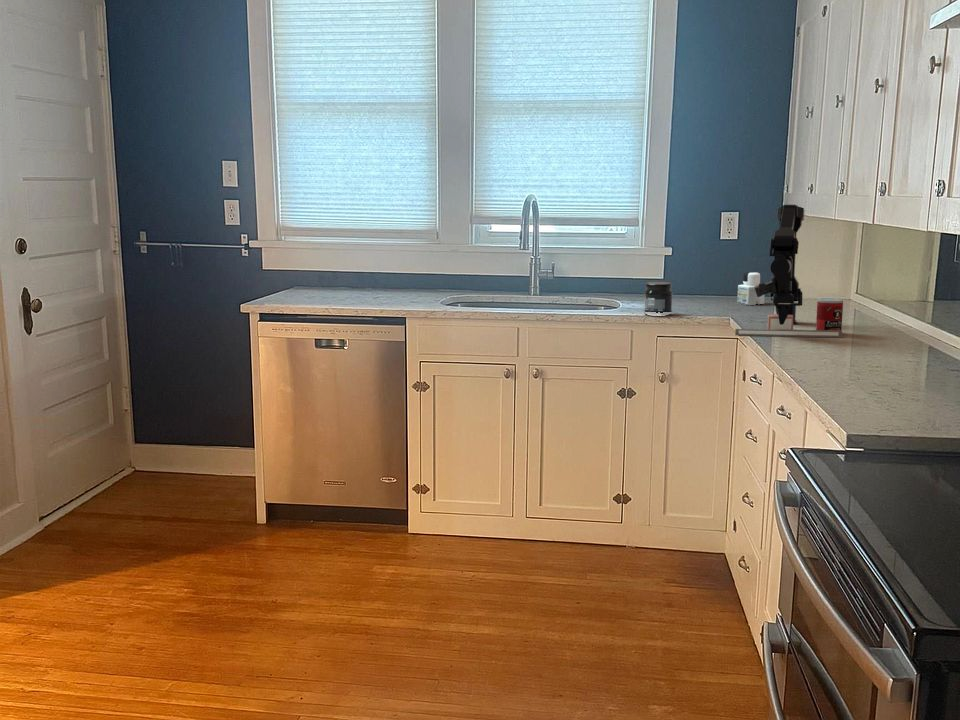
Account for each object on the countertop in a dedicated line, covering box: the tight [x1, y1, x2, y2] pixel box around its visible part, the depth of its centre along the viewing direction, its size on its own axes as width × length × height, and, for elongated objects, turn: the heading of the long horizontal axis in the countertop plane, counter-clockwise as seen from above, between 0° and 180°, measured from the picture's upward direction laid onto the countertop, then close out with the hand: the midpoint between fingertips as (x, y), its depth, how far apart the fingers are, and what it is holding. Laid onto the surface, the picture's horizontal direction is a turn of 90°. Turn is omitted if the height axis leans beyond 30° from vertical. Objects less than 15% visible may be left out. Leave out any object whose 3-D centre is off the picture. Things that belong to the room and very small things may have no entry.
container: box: [737, 271, 766, 305], centre depth 359 cm, size 8×8×13 cm
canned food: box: [815, 297, 844, 332], centre depth 284 cm, size 8×8×11 cm
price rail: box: [734, 328, 843, 338], centre depth 282 cm, size 1×32×2 cm, turn 76°
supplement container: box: [643, 281, 674, 313], centre depth 334 cm, size 10×10×12 cm
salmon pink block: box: [766, 314, 794, 330], centre depth 286 cm, size 5×8×6 cm
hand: (780, 322), depth 286 cm, fingers open, 9 cm apart
